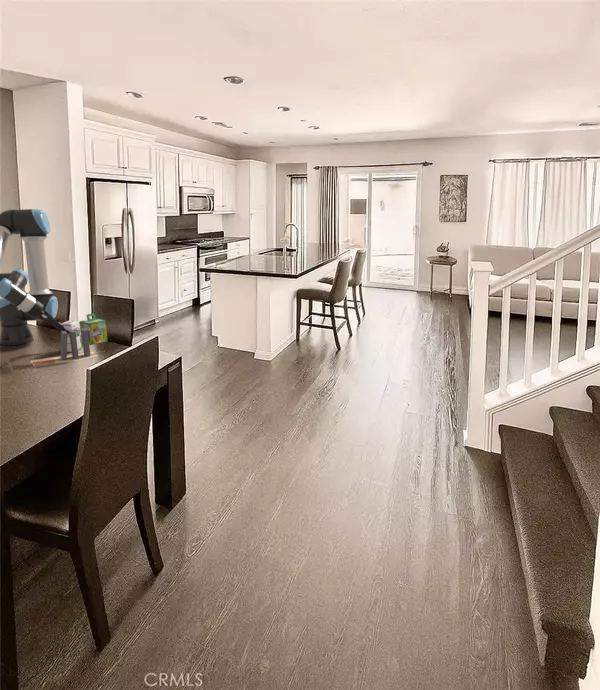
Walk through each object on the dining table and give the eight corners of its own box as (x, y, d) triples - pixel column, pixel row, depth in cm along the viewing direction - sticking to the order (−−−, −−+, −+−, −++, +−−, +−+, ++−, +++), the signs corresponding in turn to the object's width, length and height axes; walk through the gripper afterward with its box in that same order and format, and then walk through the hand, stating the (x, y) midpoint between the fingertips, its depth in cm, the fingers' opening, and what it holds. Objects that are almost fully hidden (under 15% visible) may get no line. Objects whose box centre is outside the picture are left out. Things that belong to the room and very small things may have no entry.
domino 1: (60, 357, 234) (61, 331, 231) (64, 357, 235) (65, 331, 232) (62, 360, 230) (63, 333, 227) (66, 360, 231) (67, 333, 228)
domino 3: (84, 354, 239) (80, 328, 236) (88, 353, 240) (85, 328, 237) (86, 356, 235) (83, 330, 232) (90, 356, 236) (87, 330, 233)
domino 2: (72, 356, 236) (68, 330, 233) (76, 355, 237) (73, 329, 234) (74, 358, 232) (71, 332, 229) (78, 358, 233) (75, 331, 230)
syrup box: (75, 354, 243) (71, 323, 239) (64, 353, 244) (60, 323, 240) (82, 350, 249) (79, 320, 245) (71, 350, 250) (67, 320, 246)
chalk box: (93, 346, 256) (89, 316, 252) (81, 344, 260) (77, 314, 256) (108, 342, 263) (105, 313, 259) (96, 340, 268) (93, 311, 264)
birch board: (30, 362, 231) (30, 360, 231) (92, 353, 244) (92, 350, 244) (34, 369, 221) (34, 367, 221) (98, 359, 235) (98, 356, 234)
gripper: (22, 309, 241) (61, 336, 252) (28, 317, 220) (71, 346, 232) (33, 296, 242) (72, 324, 254) (40, 303, 222) (82, 332, 233)
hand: (71, 334), depth 243 cm, fingers open, 13 cm apart
